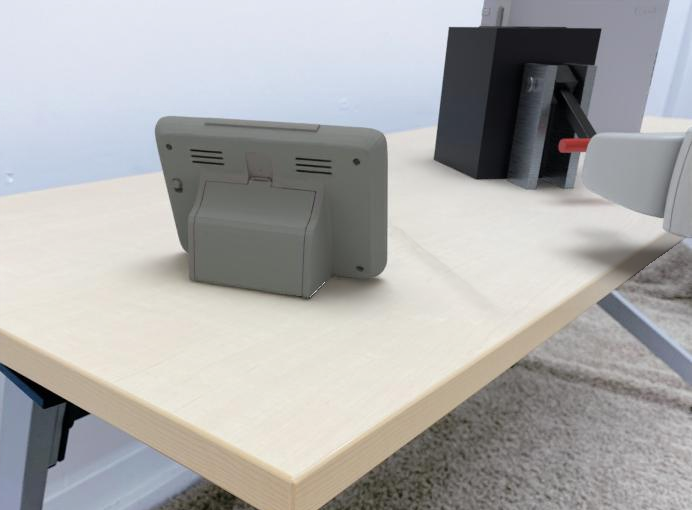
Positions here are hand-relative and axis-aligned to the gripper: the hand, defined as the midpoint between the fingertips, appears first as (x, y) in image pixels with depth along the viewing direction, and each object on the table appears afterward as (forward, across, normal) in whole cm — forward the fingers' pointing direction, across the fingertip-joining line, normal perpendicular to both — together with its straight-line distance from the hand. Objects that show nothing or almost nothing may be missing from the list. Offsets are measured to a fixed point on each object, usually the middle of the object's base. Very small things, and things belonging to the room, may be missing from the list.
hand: (664, 146), depth 55 cm
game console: (+41, -15, +8) cm, 44 cm away
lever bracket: (+17, 0, +8) cm, 18 cm away
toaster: (+26, 0, +8) cm, 27 cm away
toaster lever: (+14, 0, 0) cm, 14 cm away
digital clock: (-4, +32, +8) cm, 33 cm away
